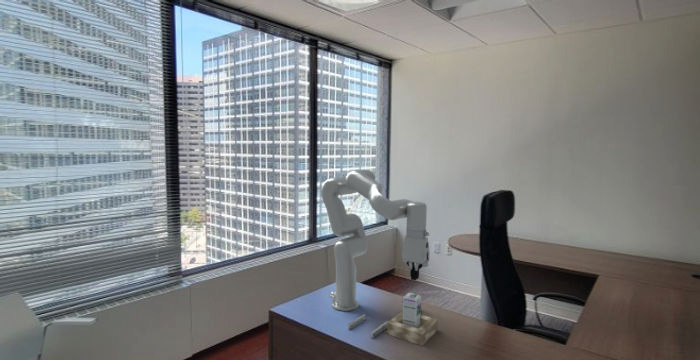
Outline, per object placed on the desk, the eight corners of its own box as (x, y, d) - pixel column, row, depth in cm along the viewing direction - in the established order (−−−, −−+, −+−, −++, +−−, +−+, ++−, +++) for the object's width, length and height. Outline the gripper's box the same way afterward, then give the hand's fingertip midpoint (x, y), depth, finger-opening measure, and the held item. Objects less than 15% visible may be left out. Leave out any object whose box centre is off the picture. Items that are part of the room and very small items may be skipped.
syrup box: (416, 335, 146) (417, 299, 145) (401, 331, 149) (402, 296, 148) (420, 329, 151) (421, 294, 150) (406, 325, 154) (407, 291, 153)
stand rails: (347, 329, 151) (347, 324, 151) (363, 318, 161) (363, 314, 161) (372, 338, 144) (373, 333, 144) (388, 326, 154) (388, 321, 154)
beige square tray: (386, 333, 148) (387, 322, 148) (404, 319, 160) (404, 309, 160) (422, 345, 139) (422, 334, 139) (437, 330, 152) (437, 319, 151)
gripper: (437, 234, 145) (436, 280, 147) (403, 229, 154) (401, 272, 155) (430, 238, 139) (428, 286, 141) (394, 232, 148) (393, 277, 149)
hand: (414, 279), depth 148 cm, fingers closed
